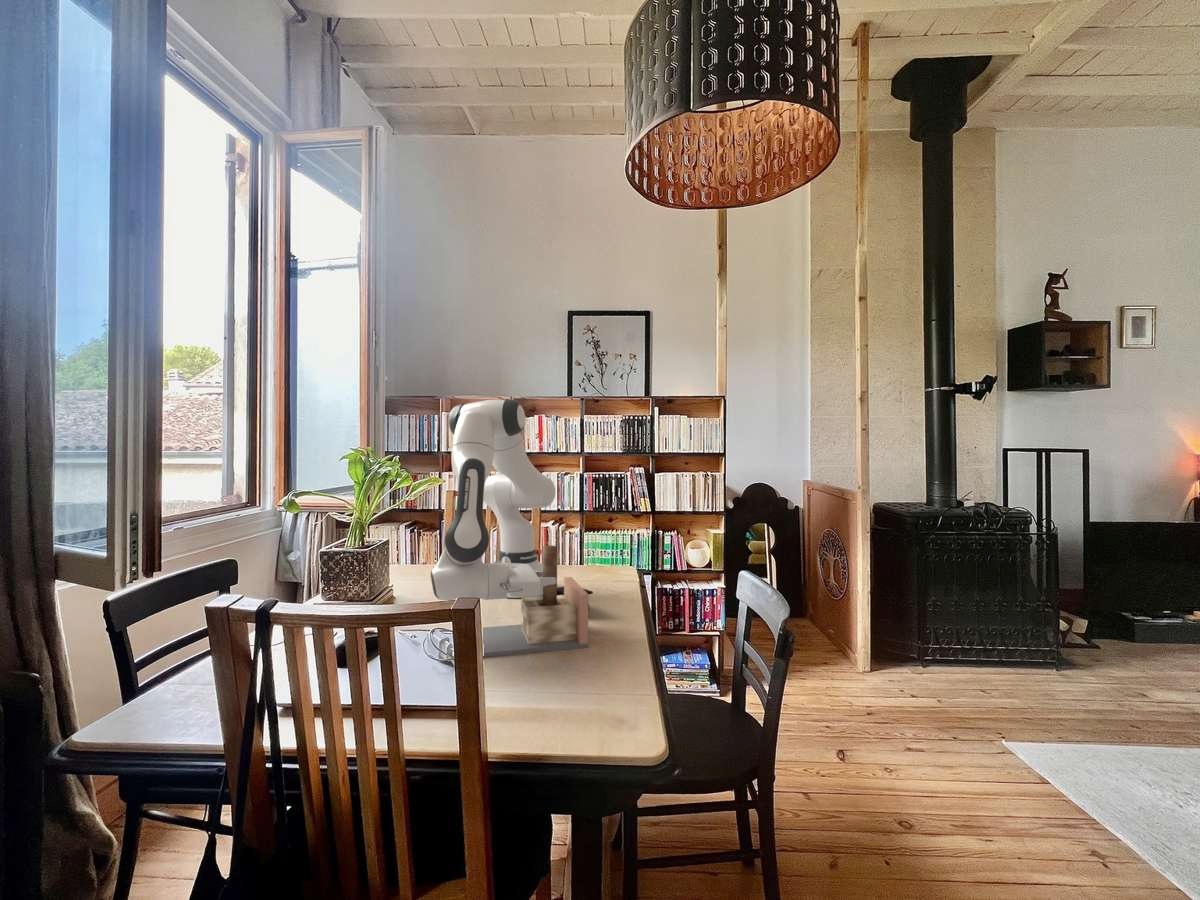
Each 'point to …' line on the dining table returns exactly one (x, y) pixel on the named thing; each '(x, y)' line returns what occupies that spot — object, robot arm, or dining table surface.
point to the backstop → (515, 642)
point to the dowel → (550, 574)
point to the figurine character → (561, 592)
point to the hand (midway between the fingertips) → (553, 577)
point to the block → (548, 620)
